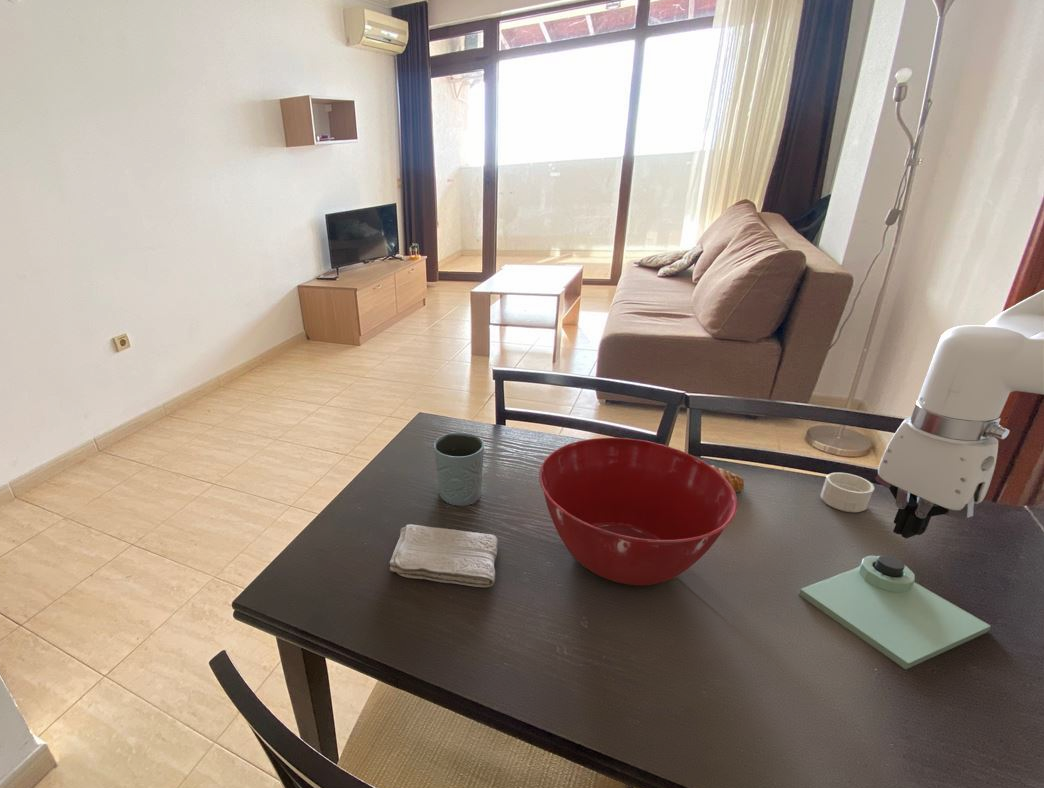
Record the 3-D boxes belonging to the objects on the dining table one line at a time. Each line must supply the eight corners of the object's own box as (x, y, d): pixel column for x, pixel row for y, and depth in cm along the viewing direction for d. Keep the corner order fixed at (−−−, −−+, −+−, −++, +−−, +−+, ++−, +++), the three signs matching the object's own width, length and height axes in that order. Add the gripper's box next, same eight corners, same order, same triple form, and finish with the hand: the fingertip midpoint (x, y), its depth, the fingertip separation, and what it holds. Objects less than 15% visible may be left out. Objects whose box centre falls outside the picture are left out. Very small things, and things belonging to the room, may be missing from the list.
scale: (874, 566, 86) (880, 551, 84) (987, 632, 73) (996, 616, 72) (798, 594, 82) (803, 579, 80) (905, 669, 69) (913, 653, 68)
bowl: (837, 489, 104) (843, 469, 102) (875, 508, 98) (883, 487, 96) (811, 497, 102) (817, 477, 100) (848, 517, 96) (856, 496, 94)
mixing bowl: (741, 637, 76) (765, 551, 69) (531, 604, 84) (535, 524, 77) (696, 515, 100) (712, 443, 93) (537, 499, 108) (541, 432, 102)
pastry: (738, 479, 109) (742, 463, 107) (745, 499, 103) (750, 482, 101) (686, 473, 112) (689, 458, 110) (690, 492, 106) (693, 475, 105)
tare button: (883, 561, 83) (887, 552, 82) (905, 574, 80) (909, 565, 79) (869, 567, 82) (872, 558, 81) (891, 580, 79) (895, 571, 79)
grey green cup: (454, 514, 106) (453, 462, 101) (425, 490, 114) (423, 441, 109) (494, 496, 110) (495, 445, 105) (463, 475, 118) (462, 427, 113)
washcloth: (402, 532, 102) (401, 519, 101) (499, 543, 97) (499, 529, 96) (387, 577, 92) (386, 563, 90) (494, 591, 87) (494, 576, 86)
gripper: (1050, 439, 65) (990, 558, 72) (905, 394, 78) (868, 499, 85) (1008, 453, 63) (952, 574, 70) (867, 405, 76) (833, 511, 84)
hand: (906, 532), depth 78 cm, fingers closed
